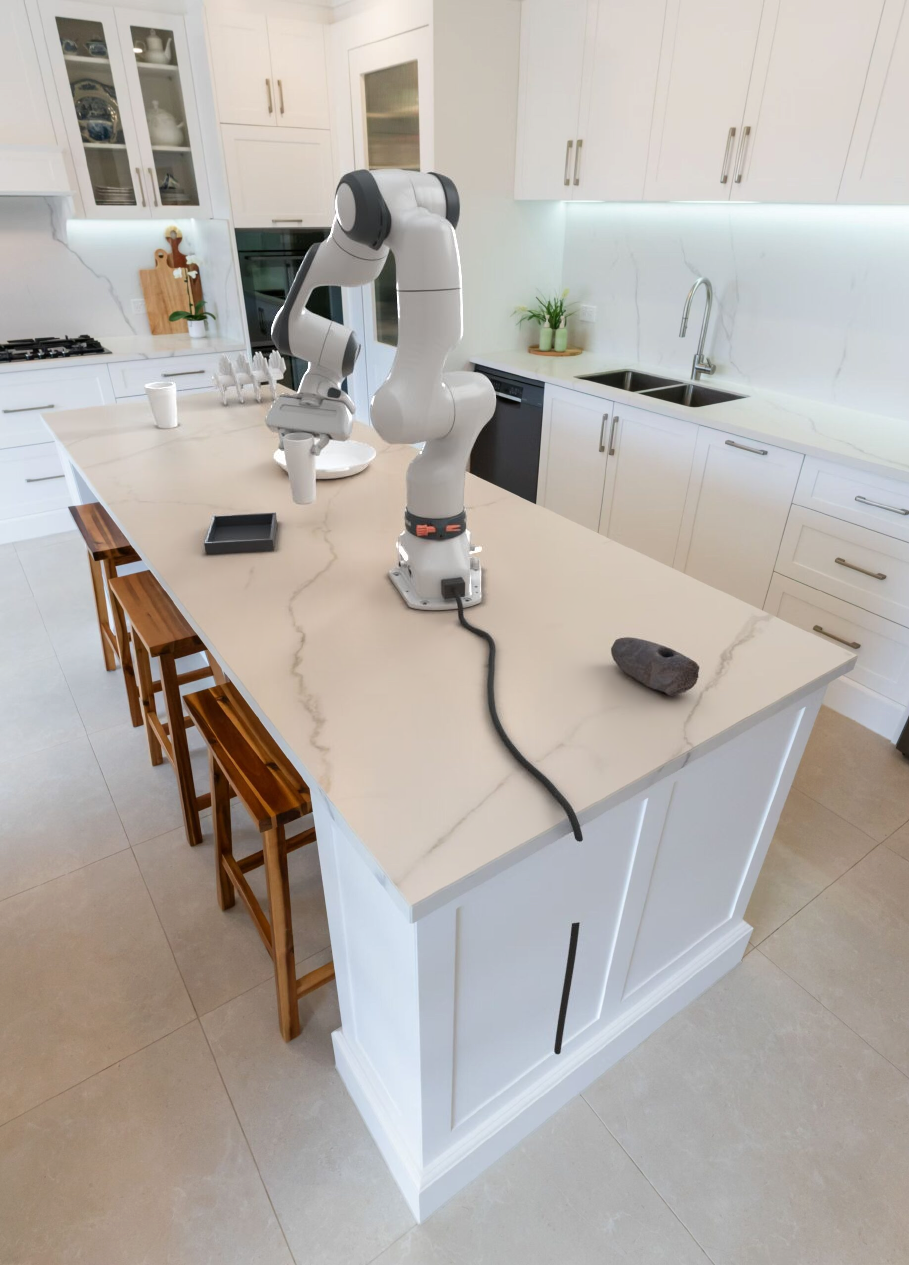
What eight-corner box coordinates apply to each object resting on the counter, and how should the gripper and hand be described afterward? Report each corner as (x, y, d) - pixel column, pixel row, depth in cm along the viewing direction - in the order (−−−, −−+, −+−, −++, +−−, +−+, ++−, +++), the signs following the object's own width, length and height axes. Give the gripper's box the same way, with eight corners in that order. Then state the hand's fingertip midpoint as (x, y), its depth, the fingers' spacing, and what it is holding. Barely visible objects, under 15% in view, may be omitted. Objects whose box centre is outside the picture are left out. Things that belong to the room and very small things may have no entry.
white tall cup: (313, 508, 165) (307, 441, 157) (285, 505, 166) (277, 439, 159) (324, 497, 171) (318, 433, 163) (296, 495, 172) (289, 431, 164)
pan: (392, 480, 199) (391, 464, 197) (286, 492, 190) (285, 476, 188) (359, 445, 226) (358, 431, 223) (265, 455, 217) (263, 440, 214)
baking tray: (274, 550, 159) (272, 539, 157) (206, 554, 157) (204, 543, 155) (277, 523, 172) (275, 512, 171) (214, 526, 170) (212, 515, 169)
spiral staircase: (217, 413, 272) (283, 403, 281) (222, 402, 256) (292, 391, 265) (203, 363, 269) (270, 354, 279) (208, 348, 253) (279, 340, 262)
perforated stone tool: (600, 666, 121) (605, 630, 117) (620, 655, 124) (625, 620, 120) (676, 709, 111) (684, 670, 108) (697, 696, 114) (705, 658, 110)
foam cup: (153, 423, 245) (145, 382, 239) (182, 421, 248) (175, 381, 241) (152, 430, 238) (144, 389, 231) (182, 428, 240) (175, 387, 233)
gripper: (271, 384, 165) (251, 439, 162) (351, 393, 159) (332, 450, 156) (284, 400, 171) (265, 453, 168) (362, 409, 165) (344, 464, 162)
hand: (298, 452), depth 162 cm, fingers closed on white tall cup, 7 cm apart
